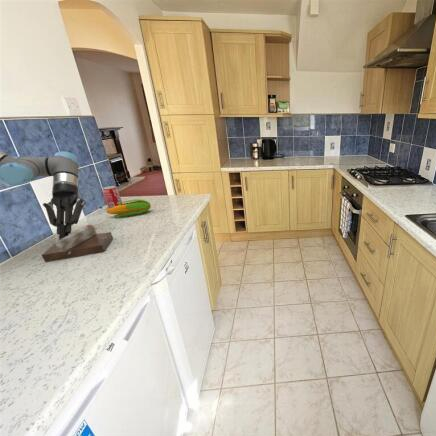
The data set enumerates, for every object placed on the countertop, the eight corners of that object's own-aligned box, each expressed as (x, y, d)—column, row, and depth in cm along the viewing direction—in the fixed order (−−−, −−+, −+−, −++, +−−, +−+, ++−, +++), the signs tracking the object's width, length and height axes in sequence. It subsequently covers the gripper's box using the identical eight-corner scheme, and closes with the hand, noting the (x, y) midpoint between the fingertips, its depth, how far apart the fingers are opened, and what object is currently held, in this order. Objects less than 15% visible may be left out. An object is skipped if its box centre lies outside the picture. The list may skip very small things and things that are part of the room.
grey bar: (64, 251, 87) (59, 241, 85) (59, 251, 87) (54, 241, 85) (96, 234, 100) (93, 224, 98) (92, 233, 100) (88, 224, 98)
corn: (148, 199, 125) (101, 206, 117) (151, 213, 128) (106, 220, 120) (149, 196, 131) (104, 202, 123) (152, 209, 134) (109, 216, 126)
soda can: (122, 204, 142) (116, 184, 137) (124, 207, 137) (117, 187, 132) (108, 207, 138) (100, 187, 133) (109, 211, 133) (101, 189, 128)
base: (40, 266, 84) (36, 259, 83) (63, 243, 100) (60, 236, 98) (102, 255, 90) (99, 248, 88) (115, 235, 105) (113, 228, 104)
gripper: (89, 189, 103) (89, 241, 95) (51, 193, 99) (48, 248, 91) (80, 180, 96) (79, 235, 89) (38, 184, 92) (34, 242, 84)
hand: (63, 241), depth 90 cm, fingers closed
